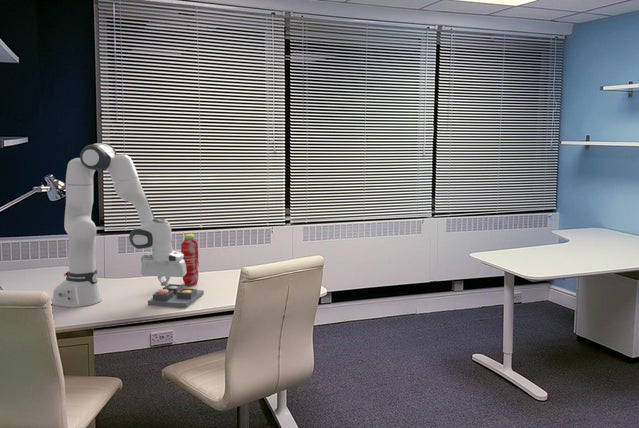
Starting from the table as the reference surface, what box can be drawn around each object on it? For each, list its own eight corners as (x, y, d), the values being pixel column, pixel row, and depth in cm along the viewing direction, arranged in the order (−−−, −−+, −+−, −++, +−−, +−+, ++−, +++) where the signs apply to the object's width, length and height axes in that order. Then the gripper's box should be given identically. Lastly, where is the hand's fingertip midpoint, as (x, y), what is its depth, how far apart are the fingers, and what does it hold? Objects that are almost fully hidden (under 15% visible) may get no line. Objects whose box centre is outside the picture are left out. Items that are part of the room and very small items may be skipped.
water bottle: (173, 284, 291) (171, 234, 287) (181, 280, 299) (180, 231, 295) (194, 287, 288) (193, 236, 283) (202, 282, 295) (201, 233, 291)
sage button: (166, 292, 272) (166, 288, 271) (170, 289, 276) (170, 285, 275) (175, 293, 271) (175, 288, 270) (179, 290, 275) (179, 286, 275)
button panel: (148, 305, 260) (147, 295, 259) (167, 292, 279) (167, 282, 279) (186, 307, 257) (186, 298, 256) (203, 294, 276) (203, 285, 275)
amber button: (180, 296, 265) (180, 292, 265) (184, 294, 269) (184, 289, 269) (189, 297, 264) (189, 293, 264) (193, 294, 269) (193, 290, 268)
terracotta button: (156, 296, 262) (156, 291, 261) (160, 293, 266) (160, 288, 266) (165, 296, 261) (165, 292, 260) (170, 293, 265) (169, 289, 265)
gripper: (137, 256, 259) (139, 286, 262) (181, 257, 256) (183, 288, 258) (143, 252, 265) (145, 282, 268) (187, 254, 262) (188, 284, 264)
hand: (164, 285), depth 263 cm, fingers closed
